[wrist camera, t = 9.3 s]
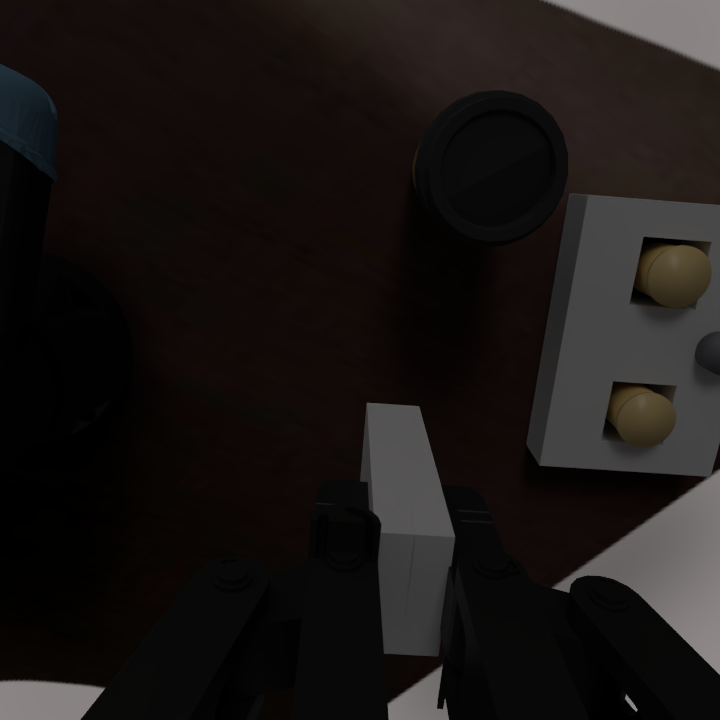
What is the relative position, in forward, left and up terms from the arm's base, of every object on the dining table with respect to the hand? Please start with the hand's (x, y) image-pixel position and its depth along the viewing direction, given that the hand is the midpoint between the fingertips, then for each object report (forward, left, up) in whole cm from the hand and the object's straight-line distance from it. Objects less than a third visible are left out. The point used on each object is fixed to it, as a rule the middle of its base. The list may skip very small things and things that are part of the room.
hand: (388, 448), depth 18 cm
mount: (+22, -4, -32) cm, 39 cm away
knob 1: (+22, +2, -31) cm, 38 cm away
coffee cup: (+6, +8, -33) cm, 34 cm away
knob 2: (+22, -9, -31) cm, 39 cm away
